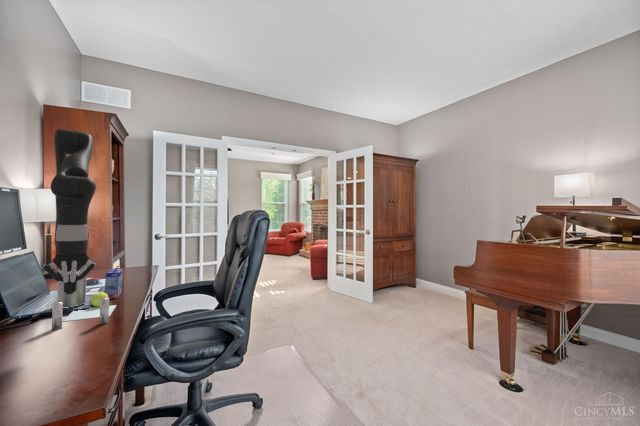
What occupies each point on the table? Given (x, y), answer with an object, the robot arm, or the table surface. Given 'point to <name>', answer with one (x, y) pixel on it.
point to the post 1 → (57, 315)
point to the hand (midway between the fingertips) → (70, 293)
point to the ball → (98, 298)
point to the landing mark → (87, 313)
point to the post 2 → (104, 310)
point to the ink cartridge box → (113, 283)
